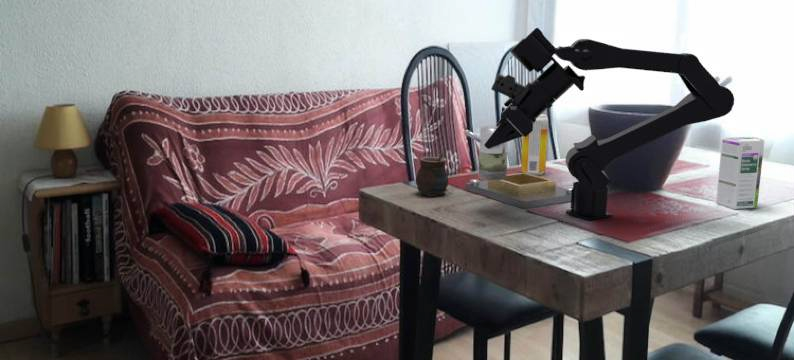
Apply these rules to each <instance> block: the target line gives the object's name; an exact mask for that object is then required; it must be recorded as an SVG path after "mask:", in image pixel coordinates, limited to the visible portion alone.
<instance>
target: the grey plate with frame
mask: <svg viewBox="0 0 794 360" xmlns="http://www.w3.org/2000/svg"><path fill="white" fill-rule="evenodd" d="M464 185H465V190H466V191H469V192H472V193H474V194H478V195H480V196H484V197H487V198H490V199H492V200H495V201H498V202H502V203H505V204H508V205H511V206H513V207H517V208H520V209H523V210H527V209H531V208H532V209H533V208H539V207H543V206H550V205H556V204H562V203H567V202H568V203H569V202H571V195H572V189H573V187H566V188H564V187H560V186H557V181H556V180H554V179H550V178H548V177H547V178H546V177H542V176H540V175H536V176H535V175H532V174H528V173H523V172H517V173H509V174H506V179H503V180H485V179H484V180H479V179H477V178H476V179H475V178H474V179H470V182H465V184H464Z"/></svg>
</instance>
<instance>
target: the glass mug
mask: <svg viewBox="0 0 794 360" xmlns="http://www.w3.org/2000/svg"><path fill="white" fill-rule="evenodd" d="M497 127H498V126H496V125H484V126H483V125H482V126H480V127H479V135H477V134H475V133H474V132H472V131H471V130H469V129H466V130H464V135H466V136H468V137H469V138H471V139H472V140H474V141H476V142H477V143H479V148H478V149H479V151H478V178H479V179H481V180H484V181H485V180H503V179H506V175H507V172H508V171H507V170H508V144H509V143H508V142H509V141H508V142H505V143H502V144H500V145H497V146H494V147H492V148H489V149H487V148H486V147H485V146H484V144H485V143H486V142H487V140H488V139H489V138H490V136H491V135H492V134H493V132H494V131H495V130H496V128H497Z"/></svg>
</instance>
